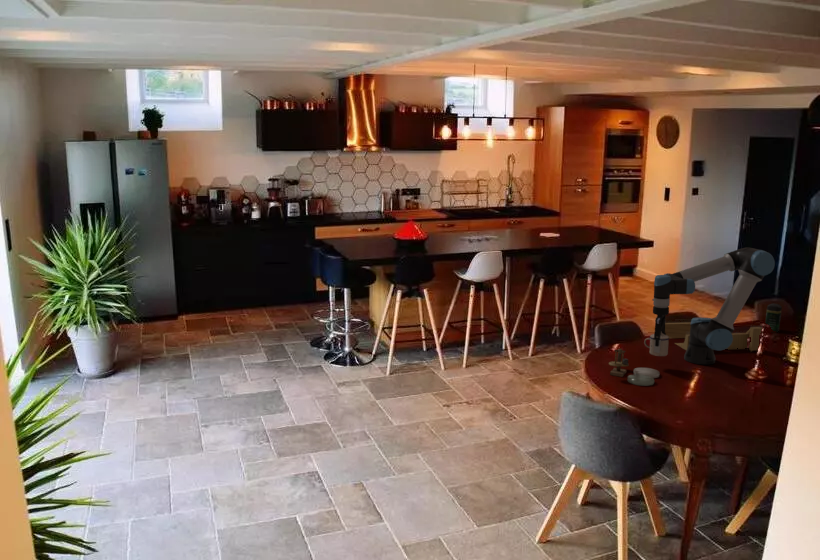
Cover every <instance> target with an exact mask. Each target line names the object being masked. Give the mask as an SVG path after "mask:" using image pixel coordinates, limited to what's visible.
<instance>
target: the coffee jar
mask: <svg viewBox="0 0 820 560" xmlns="http://www.w3.org/2000/svg"><path fill="white" fill-rule="evenodd" d="M782 307H783V306H782V305H781V304H779V303H774V302H773V303H770V304H768V305H767V307H766V313H765V322H764V324H765V323H766V324H768V325H770V327H771V329H772V330H773V331H776V332H778V331H779V332H780V325H781V324H780V323H781V317H782ZM779 332H778V333H779Z"/></svg>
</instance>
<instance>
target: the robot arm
mask: <svg viewBox="0 0 820 560" xmlns="http://www.w3.org/2000/svg"><path fill="white" fill-rule="evenodd" d="M775 265H776V261H775V259H774V257H773V255H772V254H771V253H770V252H767V251H765V250H763V249H758V248H753V247H743V248H739V249H736V250H733V251H730V252H729V251H728V252H727V253H725V254H724V255H723V256H721V257H718V258H716V259H712V260H709V261H706V262H703V263H701V264H698V265H695V266H691V267H689V268H686V269H683V270H680V271H677V272H673V273H664V274H657V275H655V277H654V281H653V282H654V283H653V298H652V302H653V304H652V305H653V308H652V314H653V315H656V317H655V320H654V321H655V323H654V324H655V325H654V333H653V334H654V338H653V340H655V342H654V352H656V353H660V342H661V340H660V336H661V332H662V333H663V334H664V335H666V333H665V323H666V321H665V320H666V316H668V315H669V313H670V301H671V300H670V299H671V295H690V294H691V295H693V293H695V290H696V282H698V281H700V280H703V279H707V278H710V277H712V276H716V275H719V274H722V273H726V272H728V271H730V272H735V271H738V273H739V275H738V277H737V278H736V280H735V282H734V284H733V286H732V287H731V290H730V292H729V293H728V294H727V297H726V298H725V300H724V302H723V304H722V305H721V307H720V309H719V311H718V313H717V314H716V315H715V317H693V318H692V319H690V321H691V324H690V325H691V327H690V339H689V346H688V348H687V350H685V353H684V355H683V359H684V361H686V362H688V363H691V364H695V365H696V364H697V365H713V364H715V363H716V355H715V352H714V351H720V352H721V351H723V350H725V349H727V348H728V347H729V346H730V345H731V343H732V341H733V337H732V333H734V332H735V328H734V324H735V322H736V320H737V319H738V317H739V315H740V313H741V311H742V309H743V307H744V306H745V304H746V302H747V300H748V299H749V297H750V295H751V293H752V291H753V289H755V287H756V285H757V283H759V282H762V281H763V279H764V277H765V276H767V275H769V274H771V273H772V272H773V271H774V269H775ZM713 349H714V350H713Z"/></svg>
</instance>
